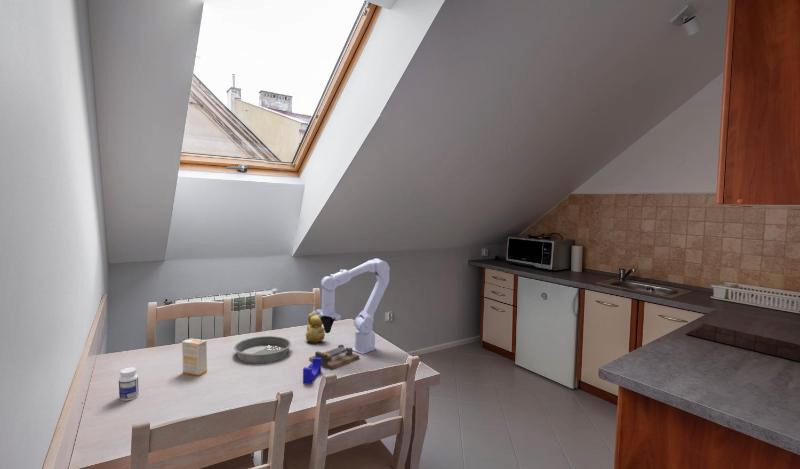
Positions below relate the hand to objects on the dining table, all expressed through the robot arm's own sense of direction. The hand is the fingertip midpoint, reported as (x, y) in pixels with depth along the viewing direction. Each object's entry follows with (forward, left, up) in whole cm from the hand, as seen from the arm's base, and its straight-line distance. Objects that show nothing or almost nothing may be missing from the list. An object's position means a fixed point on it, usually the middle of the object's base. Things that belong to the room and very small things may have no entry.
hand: (327, 332), depth 192 cm
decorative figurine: (-7, -17, -11) cm, 21 cm away
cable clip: (+21, +13, -11) cm, 27 cm away
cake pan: (+19, -22, -11) cm, 31 cm away
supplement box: (+49, -24, -11) cm, 56 cm away
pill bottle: (+74, -20, -11) cm, 77 cm away
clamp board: (+2, +7, -10) cm, 13 cm away
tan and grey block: (+2, +7, -8) cm, 11 cm away
